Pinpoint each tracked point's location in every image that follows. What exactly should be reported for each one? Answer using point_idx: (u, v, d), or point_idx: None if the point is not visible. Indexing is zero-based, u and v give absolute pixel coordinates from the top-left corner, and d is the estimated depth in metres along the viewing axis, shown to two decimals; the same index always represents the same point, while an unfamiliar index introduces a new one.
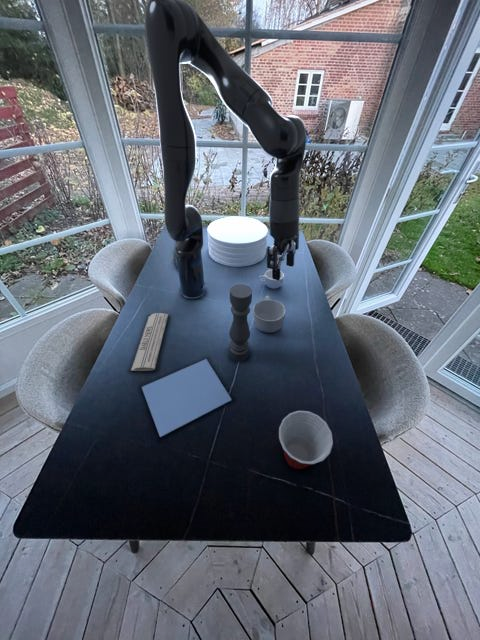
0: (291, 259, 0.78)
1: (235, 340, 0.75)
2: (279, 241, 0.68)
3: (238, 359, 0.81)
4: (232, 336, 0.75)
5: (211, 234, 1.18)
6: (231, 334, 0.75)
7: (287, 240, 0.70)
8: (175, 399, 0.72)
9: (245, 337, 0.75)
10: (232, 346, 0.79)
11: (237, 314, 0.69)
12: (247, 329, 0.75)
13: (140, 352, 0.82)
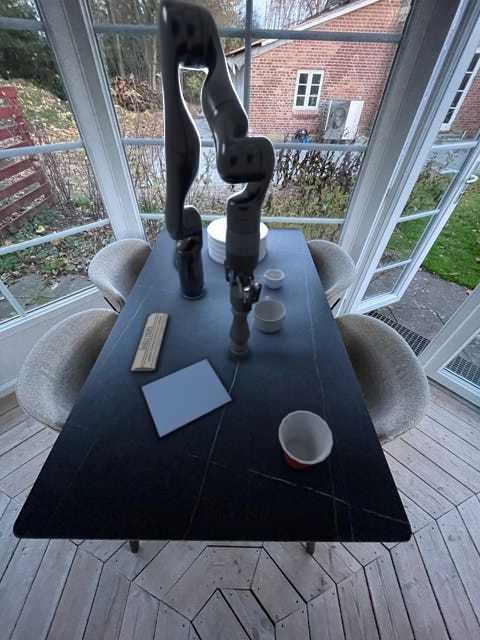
0: None
1: (235, 340, 0.75)
2: None
3: (238, 359, 0.81)
4: (232, 336, 0.75)
5: (211, 234, 1.18)
6: (231, 334, 0.75)
7: (237, 271, 0.62)
8: (175, 399, 0.72)
9: (245, 337, 0.75)
10: (232, 346, 0.79)
11: (237, 314, 0.69)
12: (247, 329, 0.75)
13: (140, 352, 0.82)
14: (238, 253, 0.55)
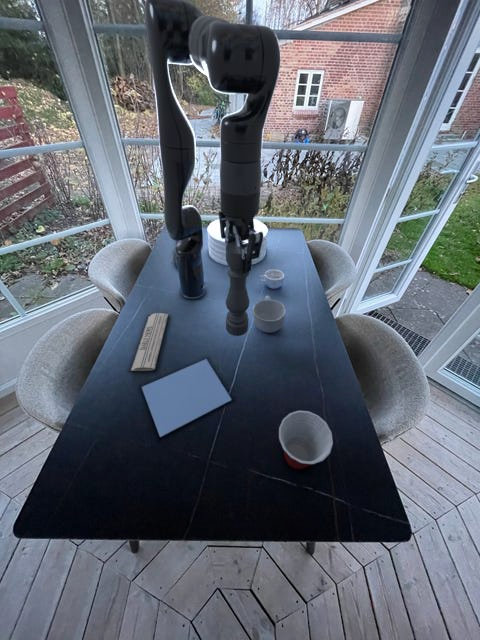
0: None
1: (232, 309, 0.66)
2: None
3: (236, 333, 0.72)
4: (229, 304, 0.66)
5: (211, 234, 1.18)
6: (228, 302, 0.66)
7: (234, 221, 0.53)
8: (175, 399, 0.72)
9: (244, 305, 0.66)
10: (229, 318, 0.70)
11: (234, 276, 0.60)
12: (246, 296, 0.65)
13: (140, 352, 0.82)
14: (235, 191, 0.46)
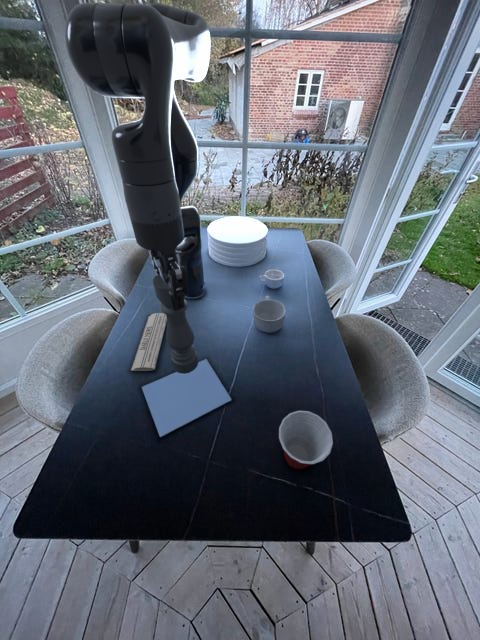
0: None
1: (172, 347, 0.57)
2: None
3: (182, 371, 0.62)
4: (168, 341, 0.57)
5: (211, 234, 1.18)
6: (167, 339, 0.57)
7: (156, 251, 0.43)
8: (175, 399, 0.72)
9: (185, 342, 0.56)
10: (172, 354, 0.61)
11: (167, 312, 0.50)
12: (187, 332, 0.56)
13: (140, 352, 0.82)
14: (142, 219, 0.37)
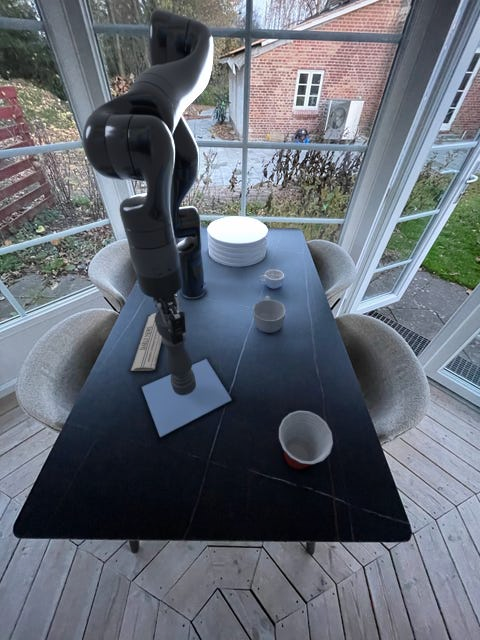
0: None
1: (172, 373, 0.62)
2: None
3: (181, 393, 0.68)
4: (168, 368, 0.62)
5: (211, 234, 1.18)
6: (167, 366, 0.62)
7: None
8: (175, 399, 0.72)
9: (184, 369, 0.62)
10: (172, 378, 0.66)
11: (167, 345, 0.55)
12: (186, 360, 0.61)
13: (140, 352, 0.82)
14: (145, 274, 0.42)
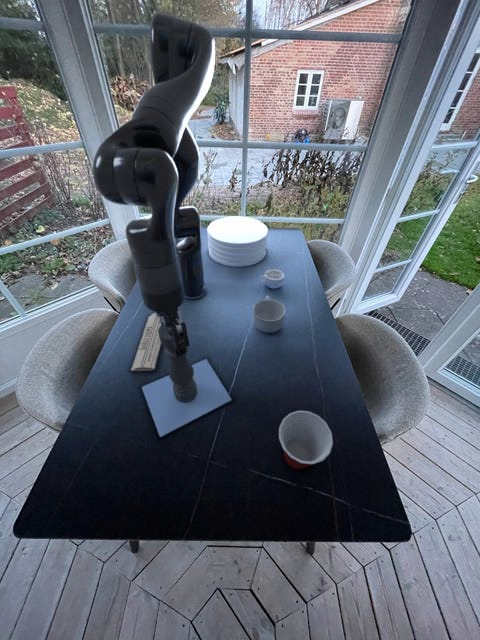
0: None
1: (174, 382, 0.65)
2: None
3: (183, 400, 0.70)
4: (171, 377, 0.64)
5: (211, 234, 1.18)
6: (170, 375, 0.65)
7: None
8: (175, 399, 0.72)
9: (186, 378, 0.64)
10: (174, 386, 0.68)
11: (170, 356, 0.58)
12: (188, 369, 0.64)
13: (140, 352, 0.82)
14: (149, 291, 0.44)
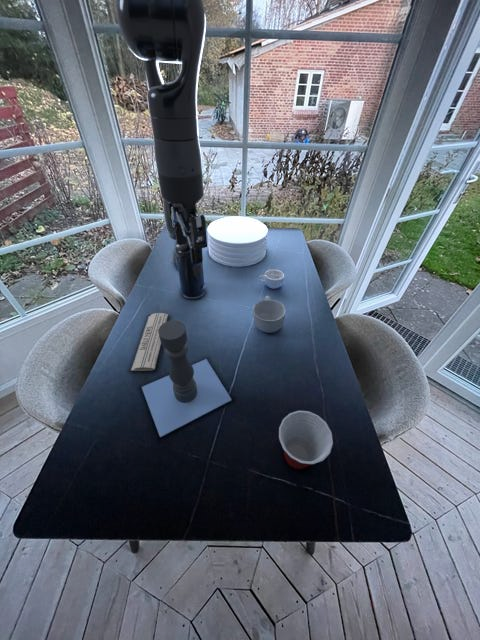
0: None
1: (174, 382, 0.65)
2: None
3: (183, 400, 0.70)
4: (171, 377, 0.64)
5: (211, 234, 1.18)
6: (170, 375, 0.65)
7: (178, 206, 0.49)
8: (175, 399, 0.72)
9: (186, 378, 0.64)
10: (174, 386, 0.68)
11: (170, 356, 0.58)
12: (188, 369, 0.64)
13: (140, 352, 0.82)
14: (169, 173, 0.42)
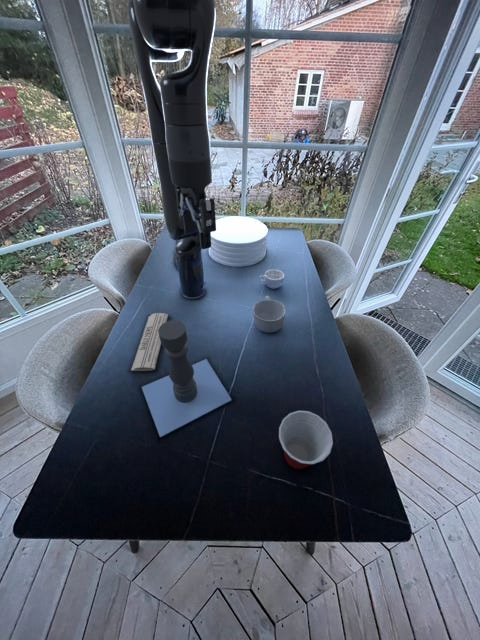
0: None
1: (174, 382, 0.65)
2: None
3: (183, 400, 0.70)
4: (171, 377, 0.64)
5: (211, 234, 1.18)
6: (170, 375, 0.65)
7: (187, 192, 0.51)
8: (175, 399, 0.72)
9: (186, 378, 0.64)
10: (174, 386, 0.68)
11: (170, 356, 0.58)
12: (188, 369, 0.64)
13: (140, 352, 0.82)
14: (180, 157, 0.44)
